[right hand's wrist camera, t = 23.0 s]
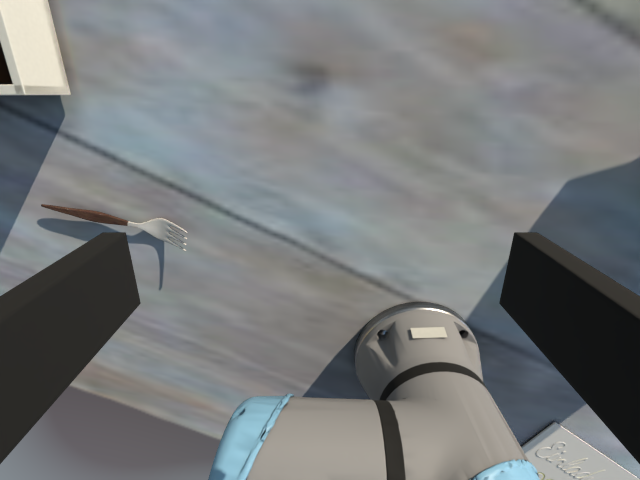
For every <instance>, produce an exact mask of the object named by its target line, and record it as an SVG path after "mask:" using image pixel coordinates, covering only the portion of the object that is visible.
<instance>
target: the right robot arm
mask: <svg viewBox="0 0 640 480" xmlns="http://www.w3.org/2000/svg"><path fill="white" fill-rule="evenodd" d="M139 304H140V298H139V294H138V289H137V284H136V279H135V275H134V270H133V265H132V260H131V256H130V251H129V246H128V241H127V237H126V233H101V234H100V235H98V236H97V237H95V238H93V239H92V240H90V241H89V242H87V243H85V244H84V245H82V246H81V247H79V248H77V249H76V250H74V251H72V252H71V253H69V254H68V255H66V256H64V257H63V258H61V259H60V260H58V261H56V262H55V263H53V264H52V265H50V266H48V267H47V268H45V269H44V270H42V271H40V272H39V273H37V274H35V275H34V276H32V277H31V278H29V279H27V280H26V281H24V282H23V283H21V284H19V285H18V286H16V287H15V288H13V289H11V290H10V291H8V292H7V293H5V294H3V295H2V296H0V464H1V463H2V461H3V460H4V459H5V458H6V457H7V456H8V455H9V453H10V452H11V451H12V450H13V449H14V448H15V447H16V445H17V444H18V443H19V442H20V441H21V440H22V438H23V437H24V436H25V435H26V434H27V433H28V432H29V430H30V429H31V428H32V427H33V426H34V425H35V424H36V422H37V421H38V420H39V419H40V418H41V417H42V416H43V414H44V413H45V412H46V411H47V410H48V409H49V408H50V406H51V405H52V404H53V403H54V402H55V401H56V400H57V398H58V397H59V396H60V395H61V394H62V393H63V391H64V390H65V389H66V388H67V387H68V386H69V385H70V384H71V382H72V381H73V380H74V379H75V378H76V377H77V375H78V374H79V373H80V372H81V371H82V370H83V369H84V367H85V366H86V365H87V364H88V363H89V362H90V361H91V359H92V358H93V357H94V356H95V355H96V354H97V353H98V351H99V350H100V349H101V348H102V347H103V346H104V345H105V343H106V342H107V341H108V340H109V339H110V338H111V337H112V335H113V334H114V333H115V332H116V331H117V330H118V329H119V327H120V326H121V325H122V324H123V323H124V322H125V320H126V319H127V318H128V317H129V316H130V315H131V314H132V312H133V311H134V310H135V309H136V308H137V307H138V306H139ZM500 304H501V306H502V307H503V308H504V309H505V310H506V311H507V312H508V314H509V315H510V316H511V317H512V318H513V319H514V320H515V322H516V323H517V324H518V325H519V326H520V327H521V329H522V330H523V331H524V332H525V333H526V334H527V335H528V337H529V338H530V339H531V340H532V341H533V342H534V343H535V345H536V346H537V347H538V348H539V349H540V350H541V351H542V353H543V354H544V355H545V356H546V357H547V358H548V359H549V361H550V362H551V363H552V364H553V365H554V366H555V367H556V369H557V370H558V371H559V372H560V373H561V374H562V375H563V377H564V378H565V379H566V380H567V381H568V382H569V384H570V385H571V386H572V387H573V388H574V389H575V390H576V392H577V393H578V394H579V395H580V396H581V397H582V398H583V400H584V401H585V402H586V403H587V404H588V405H589V406H590V408H591V409H592V410H593V411H594V412H595V413H596V414H597V416H598V417H599V418H600V419H601V420H602V421H603V422H604V424H605V425H606V426H607V427H608V428H609V429H610V430H611V432H612V433H613V434H614V435H615V436H616V437H617V438H618V440H619V441H620V442H621V443H622V444H623V445H624V447H625V448H626V449H627V450H628V451H629V452H630V453H631V455H632V456H633V457H634V458H635V459H636V460H637V461H638V463H639V464H640V296H638V295H637V294H635V293H633V292H632V291H630V290H629V289H627V288H625V287H624V286H622V285H621V284H619V283H617V282H616V281H614V280H613V279H611V278H609V277H608V276H606V275H605V274H603V273H601V272H600V271H598V270H596V269H595V268H593V267H592V266H590V265H588V264H587V263H585V262H584V261H582V260H580V259H579V258H577V257H576V256H574V255H572V254H571V253H569V252H568V251H566V250H564V249H563V248H561V247H559V246H558V245H556V244H555V243H553V242H551V241H550V240H548V239H547V238H545V237H543V236H542V235H540V234H539V233H514V237H513V241H512V246H511V251H510V256H509V260H508V265H507V270H506V275H505V279H504V284H503V289H502V294H501V298H500ZM354 360H355V368H356V373H357V377H358V379H359V381H360V383H361V385H362V387H363V389H364V390H365V392H366V393H367V395H368V397H369V398H370V400H367V399H336V398H309V397H294V395H293V394H287V395H286V396H257V397H252V398H249V399H247V400H245V401H244V402H243V403H242V404H241V405H240V406H239V407H238V408H237V409H236V410H235V412H234V413H233V415H232V417H231V419H230V421H229V423H228V425H227V427H226V429H225V431H224V434H223V436H222V439H221V441H220V444H219V447H218V450H217V452H216V456H215V459H214V462H213V465H212V469H211V472H210V475H209V479H208V480H540V479H539V475H538V472H537V470H536V468H535V467H534V466H533V465H532V463H530V462H529V460H528V458H527V457H526V455H525V453H524V451H523V450H522V448H521V446H520V445H519V443H518V441H517V439H516V438H515V436H514V434H513V433H512V431H511V429H510V427H509V426H508V424H507V422H506V421H505V419H504V417H503V415H502V414H501V412H500V410H499V408H498V407H497V405H496V403H495V402H494V400H493V398H492V396H491V395H490V393H489V391H488V390H487V388H486V386H485V384H484V383H483V377H482V369H481V361H480V353H479V348H478V343H477V340H476V338H475V336H474V334H473V332H472V331H471V329H470V328H469V326H468V325H467V323H466V322H465V321H464V320H463V319H462V317H460V316H459V315H458V314H457V313H455V312H454V311H452V310H451V309H449V308H447V307H444V306H441V305H438V304H434V303H428V302H411V303H405V304H400V305H397V306H394V307H392V308H389V309H387V310H385V311H383V312H382V313H380V314H378V315H377V316H376V317H374V318H373V319H372V320H371V321H370V322H369V323H368V324H367V325H366V326H365V327H364V329H363V330H362V332H361V333H360V335H359V337H358V339H357V342H356V345H355V350H354Z"/></svg>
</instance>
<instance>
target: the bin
mask: <svg viewBox="0 0 640 480" xmlns="http://www.w3.org/2000/svg"><path fill="white" fill-rule="evenodd" d="M0 43H1V46H2V49H3V53H4V56H5V59H6V63H7V66H8V70H9V73H10V76H11V80H12V83H13V84H0V95H71V94H70V90H69V86H68V82H67V77H66V73H65V69H64V65H63V61H62V57H61V53H60V49H59V44H58V40H57V36H56V32H55V28H54V24H53V20H52V16H51V12H50V7H49V3H48V0H0Z"/></svg>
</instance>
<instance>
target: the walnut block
mask: <svg viewBox="0 0 640 480" xmlns="http://www.w3.org/2000/svg"><path fill="white" fill-rule="evenodd" d="M0 84H13V83H12V80H11V76H10V73H9V70H8V66H7V63H6V59H5V56H4V53H3V49H2V46H1V43H0Z"/></svg>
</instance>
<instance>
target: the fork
mask: <svg viewBox="0 0 640 480" xmlns="http://www.w3.org/2000/svg"><path fill="white" fill-rule="evenodd" d="M41 206H42V207H45V208H48V209H52V210H55V211H59V212H62V213H66V214H69V215H72V216H76V217H79V218H82V219H86V220H89V221H93V222H99V223H107V224H116V225H126V226H133V227H138V228H140V229H142V230H144V231H146V232H147V233H149V234H150V235H152V236H154V237H156V238H157V239H160V240H162V241H165V242H168V243H170V244H173V245H175V246H177V247H179V248H180V249H182V250H184V251H186V250H185V249H184V248H182V247H181V246H179V245H177V244H176V243H174V242H173V241H171V240H170V239H169V237H170V238H173V239H175V240H177V241H179V242H181V243H183V244H184V245H187V244H185V243H184V242H182V241H181V240H179V239H178V238H176V237H175V236H173V235H171V234H170V233H169V232H173V233H175V234H177V235H179V236H181V237H183V238H185V239H187V238H186V237H184V236H183V235H181V234H180V233H178V232H177V231H175V230H173V229H172V228H170V226H173V227H175V228H178V229H180V230H182V231H184V232H186V233H188V232H187V231H185V230H184V229H182V228H180V227H179V226H177V225H175V224H174V223H172V222H170V221H168V220H166V219H163V218H156V219H152V220H149V221H147V222H144V223H133V222H130V221H127V220H123V219H120V218H117V217H114V216H111V215H108V214H105V213H101V212H97V211H91V210H82V209H74V208H66V207H59V206H52V205H43V204H41Z"/></svg>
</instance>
